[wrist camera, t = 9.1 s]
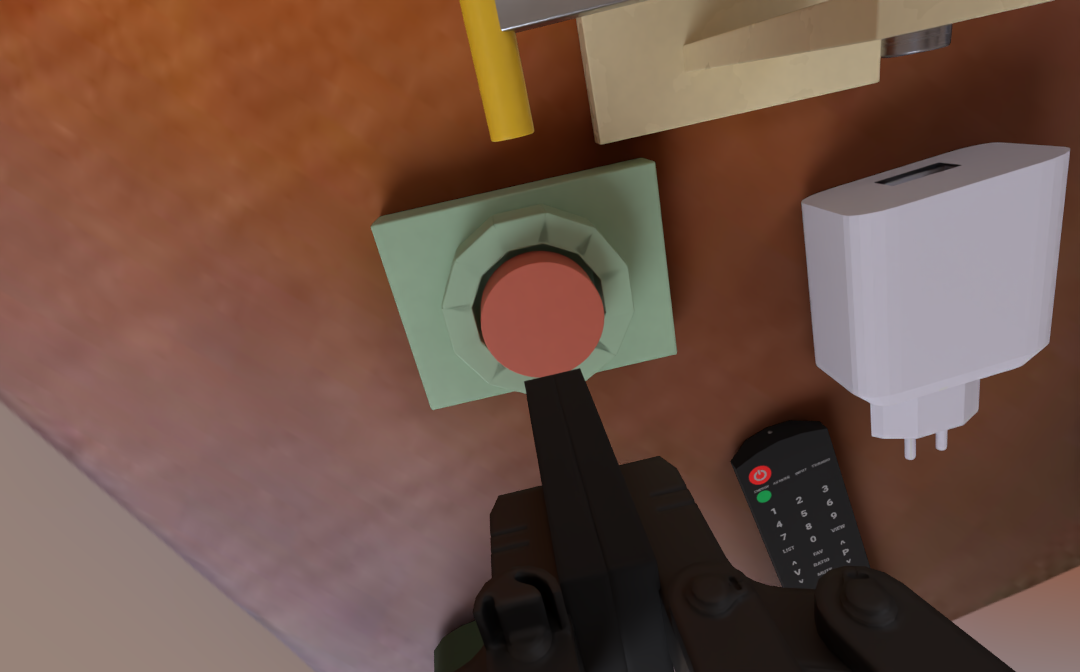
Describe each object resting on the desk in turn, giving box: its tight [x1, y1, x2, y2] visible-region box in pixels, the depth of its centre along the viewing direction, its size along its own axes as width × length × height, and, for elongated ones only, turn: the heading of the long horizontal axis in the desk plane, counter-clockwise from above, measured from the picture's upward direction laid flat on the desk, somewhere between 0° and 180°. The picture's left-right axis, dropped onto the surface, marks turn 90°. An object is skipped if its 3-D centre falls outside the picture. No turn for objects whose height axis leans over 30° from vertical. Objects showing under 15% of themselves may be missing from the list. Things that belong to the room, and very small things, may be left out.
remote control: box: [731, 421, 870, 589], centre depth 35 cm, size 5×24×1 cm, turn 26°
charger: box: [801, 142, 1070, 460], centre depth 26 cm, size 5×9×15 cm
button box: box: [371, 158, 677, 410], centre depth 24 cm, size 12×9×4 cm
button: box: [481, 251, 604, 378], centre depth 22 cm, size 5×5×2 cm
